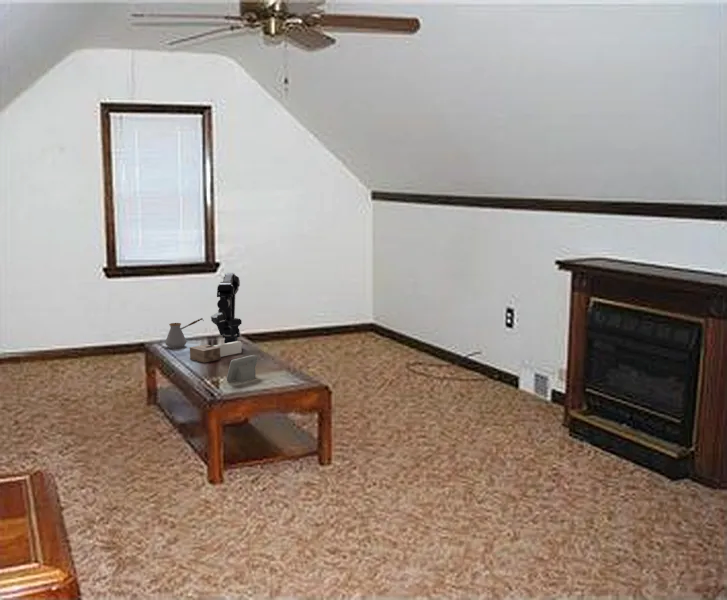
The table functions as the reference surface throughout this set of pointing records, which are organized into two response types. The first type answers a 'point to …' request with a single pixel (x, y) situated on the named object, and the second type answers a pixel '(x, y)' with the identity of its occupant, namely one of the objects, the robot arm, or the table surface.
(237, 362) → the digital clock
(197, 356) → the tan notched block
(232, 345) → the white curved bar
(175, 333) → the coffee pot
